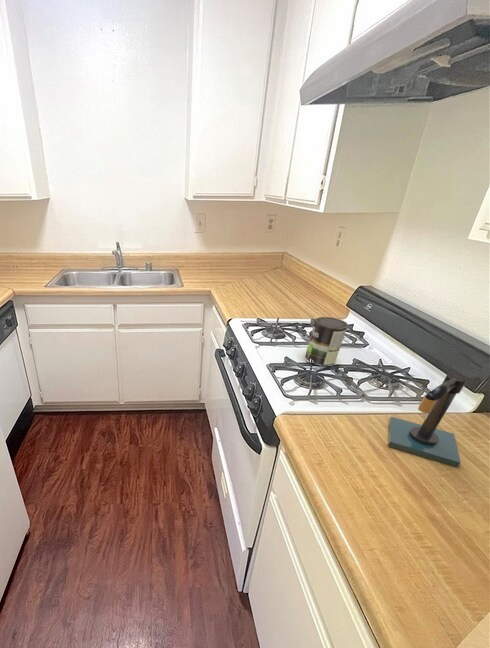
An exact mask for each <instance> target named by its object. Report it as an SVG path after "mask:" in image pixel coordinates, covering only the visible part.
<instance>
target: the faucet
mask: <svg viewBox="0 0 490 648" xmlns="http://www.w3.org/2000/svg"><path fill="white" fill-rule="evenodd" d="M456 395H457V394H454V393H449V392H448V393H446V394H445V395H443V396H442V397H441V398H439V399H438V400H437V401H436V403H435V405H434V407H433V408H432V410H431V412H430V413H427V415H426V416H425V418H424V420H423V422H422V424H420V423H416V422H412V421H409V420H405V419H402V418H398V417H395V416H390V417H389V419H388V426H387V427H388V430H387V447H390V448H392V449H396V450H399V451H403V452H405V453H409V454H412V455H414V456H419V457H422V458H426V459H429V460H431V461H435V462H438V463H442V464H445V465H448V466H452V467H454V468H459V466H460V465H461V463H462V461H461V458H460V453H459V449H458V444H457V440H456V435H455V433H453V432H449V431H446V430H443V429H442V430H441V429H438V426H439V425H440V423H441V421H442V420H443V418H444V417H445V415H446V413H447V411H448V409H449V408H450V406H451V405H452V403H453V402H454V399H455V397H456Z"/></svg>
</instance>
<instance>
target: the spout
mask: <svg viewBox="0 0 490 648" xmlns="http://www.w3.org/2000/svg"><path fill="white" fill-rule="evenodd" d="M467 382H468V380H467V378H466V377H465V376H462V375H459V374H456V373H447V374H446V376H445V378H444V379H443V381H442V383H441V384H439V385H438V386H436V387H435V388H434V389H432V390H430V391H429V392H428V393H426V394H425V395H424V396H423V398H422V400H421V401H420V402H419V405H418V407H417V410H418V411H419V412H421V413H424V414H428V413H430V412H431V410H432V408H433V407H434V405H435V403H436V401H437V400H438V399H439V398H441V397H442V396H443V395H445V394H446V393H448V392H449V393H454V394H456V395H457V394H460V393H461V392H462V390H463V388H464V386H465V385H466V383H467Z"/></svg>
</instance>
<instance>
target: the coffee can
mask: <svg viewBox="0 0 490 648" xmlns="http://www.w3.org/2000/svg"><path fill="white" fill-rule="evenodd" d="M348 327H349V324H348V323H347V322H346V321H344V320H342V319H340V318H336V317H330V316H321V317H316V318H315V319H314V321H313V326H312V331H311V333H310V336H309V337H310V338H309V341H308V345H307V349H306V352H305V354H304V361H306V362H307V363H308V364H310V363H309V362H310V359H311V357H312V360H313V362H314V363H318V364H321V365H334V366H335V365H336V362H337V358H338V356H339V352H340V349H341V346H342V344H343V340H344V337H345V335H346V331H347V330H348Z"/></svg>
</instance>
